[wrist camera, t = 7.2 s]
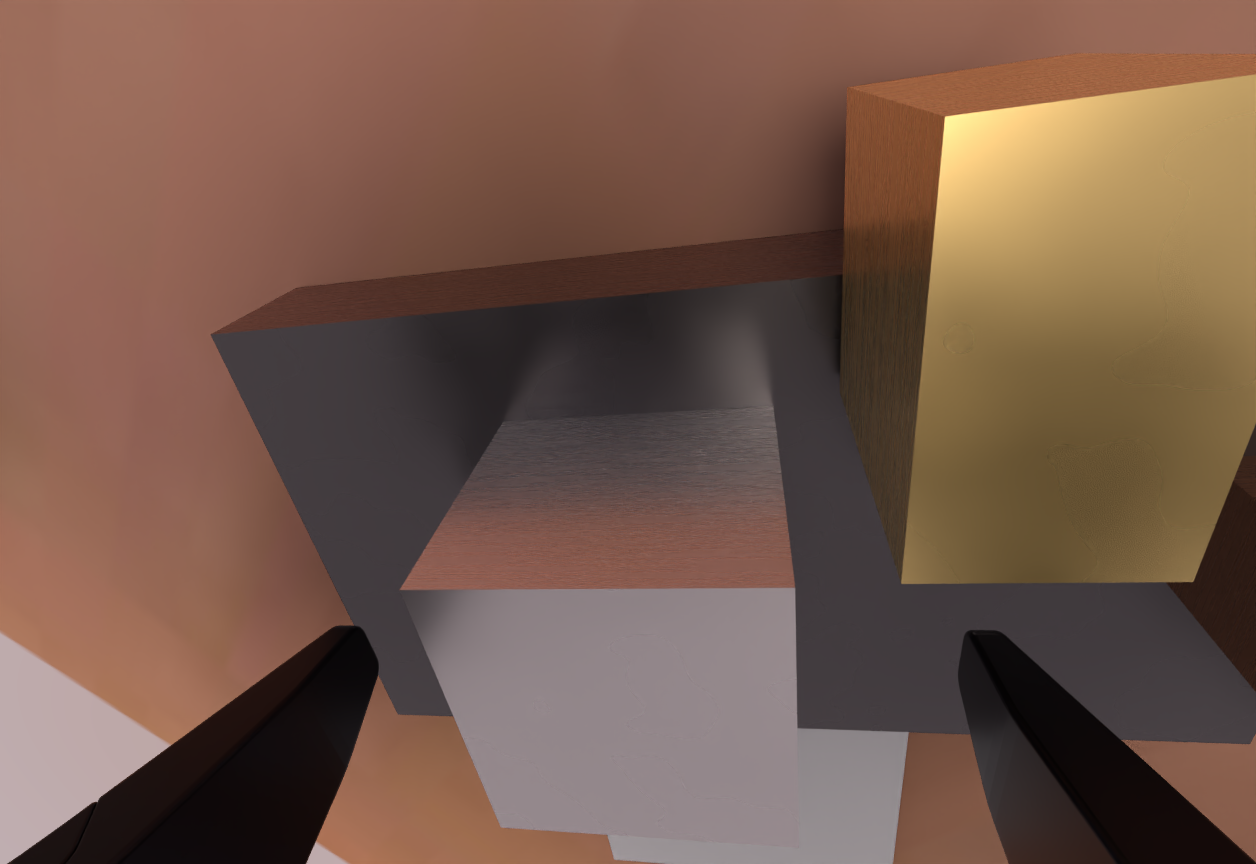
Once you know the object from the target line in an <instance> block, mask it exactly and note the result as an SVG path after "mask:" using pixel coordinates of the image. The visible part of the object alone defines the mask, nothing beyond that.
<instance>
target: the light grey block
mask: <svg viewBox="0 0 1256 864" xmlns="http://www.w3.org/2000/svg"><path fill="white" fill-rule="evenodd" d="M400 592H401V595H402V597H403V599H404V602H405V604H406V606H407V609H408V611H409V613H410V616H411V618H412V620H413V623H414V625H415V627H416V630H417V632H418V634H419V637H420V639H421V642H422V644H423V646H424V649H425V651H426V653H427V656H428V658H429V660H430V663H431V665H432V667H433V670H434V672H435V674H436V677H437V679H438V681H439V684H440V686H441V688H442V691H443V693H444V695H445V698H446V700H447V702H448V705H449V707H450V709H451V712H452V714H453V716H454V719H455V721H456V723H457V726H458V728H459V730H460V733H461V735H462V737H463V740H464V742H465V744H466V747H467V749H468V751H469V754H470V756H471V758H472V761H473V763H474V765H475V768H476V770H477V772H478V775H479V777H480V779H481V782H482V784H483V786H484V789H485V791H486V793H487V796H488V798H489V800H490V803H491V805H492V807H493V810H494V812H495V814H496V817H497V819H498V821H499V824H500V826H501V827H503V828H517V829H532V830H546V831H560V832H575V833H589V834H604V835H618V836H632V837H647V838H661V839H676V840H690V841H704V842H719V843H733V844H747V845H762V846H776V847H791V848H799V801H798V737H797V673H796V610H795V582H794V574H793V566H792V557H791V549H790V541H789V532H788V524H787V516H786V507H785V499H784V491H783V482H782V474H781V466H780V457H779V449H778V441H777V432H776V424H775V416H774V408H773V406H763V407H746V408H729V409H711V410H694V411H677V412H660V413H643V414H626V415H609V416H592V417H574V418H557V419H540V420H523V421H506V422H503V423H502V425H501V426H500V428H499V429H498V431H497V433H496V434H495V436H494V437H493V439H492V441H491V442H490V444H489V446H488V447H487V449H486V450H485V452H484V454H483V455H482V457H481V459H480V460H479V462H478V463H477V465H476V467H475V468H474V470H473V472H472V473H471V475H470V476H469V478H468V480H467V481H466V483H465V485H464V486H463V488H462V489H461V491H460V493H459V494H458V496H457V498H456V499H455V501H454V502H453V504H452V506H451V507H450V509H449V511H448V512H447V514H446V515H445V517H444V519H443V520H442V522H441V523H440V525H439V527H438V528H437V530H436V532H435V533H434V535H433V536H432V538H431V540H430V541H429V543H428V545H427V546H426V548H425V549H424V551H423V553H422V554H421V556H420V558H419V559H418V561H417V562H416V564H415V566H414V567H413V569H412V571H411V572H410V574H409V575H408V577H407V579H406V580H405V582H404V584H403V585H402V587H401V588H400Z"/></svg>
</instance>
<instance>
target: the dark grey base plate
mask: <svg viewBox="0 0 1256 864" xmlns="http://www.w3.org/2000/svg"><path fill="white" fill-rule="evenodd" d="M843 238H844V229H841V230H832V231H823V232H813V233H804V234H795V235H785V236H776V237H767V238H758V239H748V240H739V241H730V242H720V243H711V244H702V245H692V246H683V247H674V248H664V249H655V250H646V251H637V252H627V253H618V254H609V255H599V256H590V257H581V258H571V259H562V260H553V261H543V262H534V263H525V264H516V265H506V266H497V267H488V268H478V269H469V270H460V271H450V272H441V273H432V274H423V275H413V276H404V277H395V278H385V279H376V280H367V281H357V282H348V283H339V284H329V285H320V286H311V287H302V288H296V289H294V290H292V291H290V292H288V293H286V294H284V295H283V296H281V297H279V298H277V299H275V300H273V301H272V302H270V303H268V304H266V305H264V306H262V307H261V308H259V309H257V310H255V311H253V312H251V313H249V314H248V315H246V316H244V317H242V318H240V319H238V320H237V321H235V322H233V323H231V324H229V325H227V326H226V327H224V328H222V329H220V330H218V331H216V332H214V333H213V334H211V336H212V338H213V340H214V342H215V344H216V346H217V348H218V350H219V352H220V354H221V356H222V359H223V361H224V363H225V365H226V367H227V369H228V371H229V373H230V375H231V377H232V379H233V381H234V383H235V385H236V387H237V389H238V391H239V393H240V395H241V397H242V399H243V401H244V403H245V405H246V407H247V409H248V411H249V413H250V415H251V417H252V419H253V421H254V423H255V425H256V427H257V429H258V431H259V434H260V436H261V438H262V440H263V442H264V444H265V446H266V448H267V450H268V452H269V454H270V456H271V458H272V460H273V462H274V464H275V466H276V468H277V470H278V472H279V474H280V476H281V478H282V480H283V482H284V484H285V486H286V488H287V490H288V492H289V494H290V496H291V498H292V500H293V502H294V504H295V507H296V509H297V511H298V513H299V515H300V517H301V519H302V521H303V523H304V525H305V527H306V529H307V531H308V533H309V535H310V537H311V539H312V541H313V543H314V545H315V547H316V549H317V551H318V553H319V555H320V557H321V559H322V561H323V563H324V565H325V567H326V569H327V571H328V573H329V575H330V577H331V580H332V582H333V584H334V586H335V588H336V590H337V592H338V594H339V596H340V598H341V600H342V602H343V604H344V606H345V608H346V610H347V612H348V614H349V616H350V618H351V620H352V622H353V624H354V626H359V627H361V628H362V629H363V630H364V632H365V633H366V636H367V638H368V640H369V642H370V644H371V646H372V648H373V650H374V652H375V654H376V656H377V658H378V662H379V671H378V675H379V677H380V679H381V681H382V683H383V685H384V687H385V689H386V691H387V693H388V695H389V697H390V699H391V701H392V703H393V705H394V707H395V709H396V711H397V713H398V714H402V715H431V716H453V714H452V712H451V709H450V707H449V705H448V702H447V700H446V698H445V695H444V693H443V691H442V688H441V686H440V684H439V681H438V679H437V677H436V674H435V672H434V670H433V667H432V665H431V663H430V660H429V658H428V656H427V653H426V651H425V649H424V646H423V644H422V642H421V639H420V637H419V634H418V632H417V630H416V627H415V625H414V623H413V620H412V618H411V616H410V613H409V611H408V609H407V606H406V604H405V602H404V599H403V597H402V595H401V592H400V588H401V587H402V585H403V584H404V582H405V580H406V579H407V577H408V575H409V574H410V572H411V571H412V569H413V567H414V566H415V564H416V562H417V561H418V559H419V558H420V556H421V554H422V553H423V551H424V549H425V548H426V546H427V545H428V543H429V541H430V540H431V538H432V536H433V535H434V533H435V532H436V530H437V528H438V527H439V525H440V523H441V522H442V520H443V519H444V517H445V515H446V514H447V512H448V511H449V509H450V507H451V506H452V504H453V502H454V501H455V499H456V498H457V496H458V494H459V493H460V491H461V489H462V488H463V486H464V485H465V483H466V481H467V480H468V478H469V476H470V475H471V473H472V472H473V470H474V468H475V467H476V465H477V463H478V462H479V460H480V459H481V457H482V455H483V454H484V452H485V450H486V449H487V447H488V446H489V444H490V442H491V441H492V439H493V437H494V436H495V434H496V433H497V431H498V429H499V428H500V426H501V425H502V423H503V422H506V421H523V420H540V419H557V418H574V417H592V416H609V415H626V414H643V413H660V412H677V411H694V410H711V409H729V408H746V407H763V406H773V408H774V416H775V424H776V432H777V441H778V449H779V457H780V466H781V474H782V482H783V491H784V499H785V507H786V516H787V524H788V532H789V541H790V549H791V557H792V566H793V574H794V582H795V610H796V673H797V728H802V729H831V730H859V731H888V732H917V733H945V734H970V730H969V726H968V722H967V718H966V714H965V710H964V705H963V701H962V697H961V693H960V689H959V683H958V667H959V661H960V655H961V649H962V643H963V638H964V635H965V633H966V632H967V631H969V630H997V631H1000V632H1001V633H1003V634H1004V635H1006V636H1007V637H1008V638H1009V639H1010V640H1011V641H1012V642H1013V643H1015V644H1016V645H1017V646H1018V647H1019V648H1020V649H1021V650H1022V651H1023V652H1024V653H1026V654H1027V655H1028V656H1029V657H1030V658H1031V659H1032V660H1033V661H1034V662H1035V663H1037V664H1038V665H1039V666H1040V667H1041V668H1042V669H1043V670H1044V671H1045V672H1047V673H1048V674H1049V675H1050V676H1051V677H1052V678H1053V679H1054V680H1055V681H1056V682H1058V683H1059V684H1060V685H1061V686H1062V687H1063V688H1064V689H1065V690H1066V691H1067V692H1069V693H1070V694H1071V695H1072V696H1073V697H1074V698H1075V699H1076V700H1077V701H1078V702H1080V703H1081V704H1082V705H1083V706H1084V707H1085V708H1086V709H1087V710H1088V711H1090V712H1091V713H1092V714H1093V715H1094V716H1095V717H1096V718H1097V719H1098V720H1099V721H1101V722H1102V723H1103V724H1104V725H1105V726H1106V727H1107V728H1108V729H1109V730H1110V731H1112V732H1113V733H1114V734H1115V735H1116V736H1117V737H1118V738H1119V739H1120V740H1145V741H1174V742H1203V743H1231V744H1250V743H1251V741H1252V739H1253V737H1254V736H1255V734H1256V424H1255V427H1254V429H1253V432H1252V434H1251V437H1250V439H1249V442H1248V445H1247V447H1246V450H1245V452H1244V455H1243V457H1242V460H1241V462H1240V465H1239V467H1238V470H1237V472H1236V475H1235V477H1234V480H1233V482H1232V485H1231V488H1230V490H1229V493H1228V495H1227V498H1226V500H1225V503H1224V505H1223V508H1222V510H1221V513H1220V515H1219V518H1218V520H1217V523H1216V525H1215V528H1214V531H1213V533H1212V536H1211V538H1210V541H1209V543H1208V546H1207V548H1206V551H1205V553H1204V556H1203V558H1202V561H1201V563H1200V566H1199V568H1198V571H1197V574H1196V576H1195V579H1194V581H1193V582H1122V583H967V584H901V582H900V579H899V576H898V573H897V569H896V566H895V563H894V560H893V557H892V554H891V551H890V548H889V544H888V541H887V538H886V535H885V532H884V529H883V526H882V523H881V519H880V516H879V513H878V510H877V507H876V504H875V501H874V498H873V494H872V491H871V488H870V485H869V482H868V479H867V476H866V473H865V470H864V466H863V463H862V460H861V457H860V454H859V451H858V448H857V445H856V441H855V438H854V435H853V432H852V429H851V426H850V423H849V420H848V416H847V413H846V410H845V407H844V404H843V401H842V398H841V395H840V356H841V317H842V277H843Z"/></svg>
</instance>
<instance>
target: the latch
mask: <svg viewBox="0 0 1256 864" xmlns="http://www.w3.org/2000/svg"><path fill="white" fill-rule="evenodd" d="M840 395H841V398H842V401H843V404H844V407H845V410H846V413H847V416H848V420H849V423H850V426H851V429H852V432H853V435H854V438H855V441H856V445H857V448H858V451H859V454H860V457H861V460H862V463H863V466H864V470H865V473H866V476H867V479H868V482H869V485H870V488H871V491H872V494H873V498H874V501H875V504H876V507H877V510H878V513H879V516H880V519H881V523H882V526H883V529H884V532H885V535H886V538H887V541H888V544H889V548H890V551H891V554H892V557H893V560H894V563H895V566H896V569H897V573H898V576H899V579H900V582H901V584H967V583H1122V582H1193V581H1194V579H1195V576H1196V574H1197V571H1198V568H1199V566H1200V563H1201V561H1202V558H1203V556H1204V553H1205V551H1206V548H1207V546H1208V543H1209V541H1210V538H1211V536H1212V533H1213V531H1214V528H1215V525H1216V523H1217V520H1218V518H1219V515H1220V513H1221V510H1222V508H1223V505H1224V503H1225V500H1226V498H1227V495H1228V493H1229V490H1230V488H1231V485H1232V482H1233V480H1234V477H1235V475H1236V472H1237V470H1238V467H1239V465H1240V462H1241V460H1242V457H1243V455H1244V452H1245V450H1246V447H1247V445H1248V442H1249V439H1250V437H1251V434H1252V432H1253V429H1254V427H1255V424H1256V54H1069V55H1062V56H1055V57H1049V58H1042V59H1035V60H1028V61H1022V62H1015V63H1008V64H1001V65H995V66H988V67H981V68H974V69H967V70H961V71H954V72H947V73H940V74H934V75H927V76H920V77H913V78H907V79H900V80H893V81H886V82H879V83H873V84H866V85H859V86H852V87H847V119H846V159H845V198H844V238H843V277H842V317H841V356H840Z"/></svg>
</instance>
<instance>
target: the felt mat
mask: <svg viewBox="0 0 1256 864" xmlns="http://www.w3.org/2000/svg"><path fill="white" fill-rule="evenodd" d="M908 733H909V732H888V731H859V730H831V729H802V728H797V737H798V801H799V848H791V847H776V846H762V845H747V844H733V843H719V842H704V841H690V840H676V839H661V838H647V837H632V836H618V835H607V836H608V839H609V843H610V846H611V850H612V853H613V857H614V860H626V861H639V862H652V863H665V864H893V858H894V850H895V842H896V833H897V825H898V817H899V808H900V800H901V792H902V783H903V775H904V767H905V758H906V750H907V742H908Z"/></svg>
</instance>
